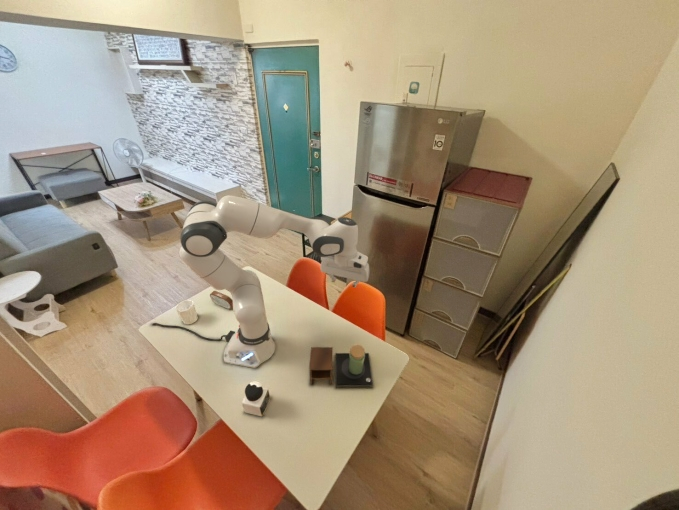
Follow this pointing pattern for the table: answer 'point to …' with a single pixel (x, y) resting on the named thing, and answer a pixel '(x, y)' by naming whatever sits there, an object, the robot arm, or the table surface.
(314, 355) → the wooden cubby
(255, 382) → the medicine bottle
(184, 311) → the white cup
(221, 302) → the tin
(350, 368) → the jar
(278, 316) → the table surface
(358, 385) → the hot plate
